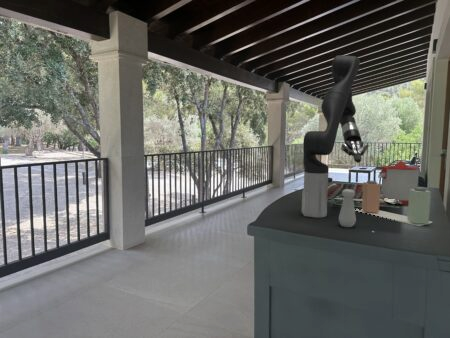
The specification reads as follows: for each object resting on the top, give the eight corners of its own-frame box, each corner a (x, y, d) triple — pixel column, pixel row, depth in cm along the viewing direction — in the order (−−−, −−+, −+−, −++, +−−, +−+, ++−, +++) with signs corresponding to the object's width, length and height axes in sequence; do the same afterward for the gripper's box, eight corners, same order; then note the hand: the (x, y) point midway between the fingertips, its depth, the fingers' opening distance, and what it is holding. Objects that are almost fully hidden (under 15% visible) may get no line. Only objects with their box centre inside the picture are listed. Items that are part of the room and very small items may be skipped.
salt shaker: (356, 228, 118) (358, 191, 117) (339, 227, 119) (341, 190, 118) (354, 224, 124) (355, 188, 122) (337, 223, 125) (339, 187, 123)
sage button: (414, 223, 123) (416, 189, 121) (407, 219, 127) (409, 187, 126) (428, 223, 122) (431, 189, 121) (421, 219, 127) (423, 187, 126)
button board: (352, 210, 145) (352, 209, 145) (365, 208, 150) (365, 207, 150) (419, 226, 122) (419, 225, 122) (432, 222, 126) (432, 221, 126)
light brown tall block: (366, 212, 139) (368, 182, 137) (361, 209, 144) (363, 180, 142) (378, 212, 139) (380, 182, 137) (373, 209, 144) (375, 180, 142)
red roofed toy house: (372, 198, 171) (374, 158, 168) (409, 200, 168) (412, 159, 166) (382, 205, 155) (384, 161, 153) (423, 207, 153) (426, 162, 151)
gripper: (339, 128, 163) (346, 155, 153) (367, 128, 163) (376, 156, 152) (335, 139, 169) (341, 166, 158) (362, 139, 169) (370, 166, 158)
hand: (358, 161), depth 155 cm, fingers closed
